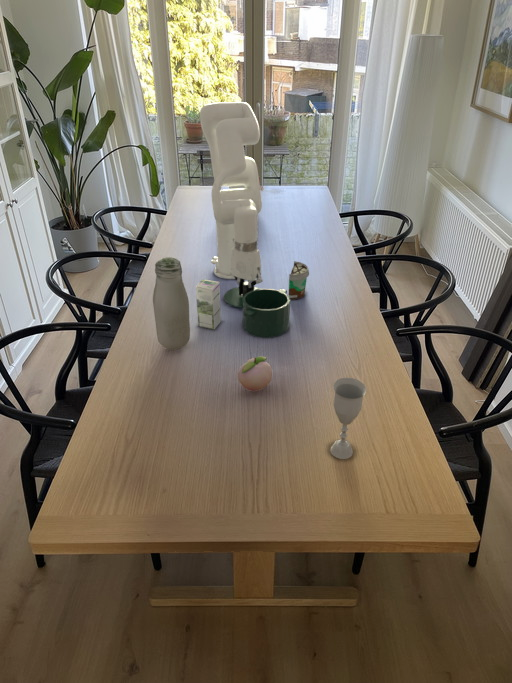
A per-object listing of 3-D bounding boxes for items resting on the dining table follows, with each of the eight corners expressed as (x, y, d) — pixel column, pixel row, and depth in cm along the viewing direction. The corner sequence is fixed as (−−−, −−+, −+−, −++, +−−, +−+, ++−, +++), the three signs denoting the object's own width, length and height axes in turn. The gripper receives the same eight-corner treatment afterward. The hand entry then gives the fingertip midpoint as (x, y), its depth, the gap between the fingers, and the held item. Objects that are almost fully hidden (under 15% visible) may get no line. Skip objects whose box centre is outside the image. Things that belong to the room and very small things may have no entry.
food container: (305, 303, 178) (307, 276, 172) (287, 301, 179) (289, 274, 173) (309, 287, 188) (311, 262, 183) (292, 286, 189) (294, 260, 184)
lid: (214, 301, 178) (213, 285, 175) (241, 285, 189) (241, 269, 186) (251, 314, 171) (251, 297, 167) (277, 297, 181) (278, 281, 178)
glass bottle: (164, 358, 148) (155, 269, 133) (153, 342, 156) (143, 255, 141) (196, 350, 152) (191, 262, 137) (184, 334, 160) (177, 249, 145)
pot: (228, 331, 161) (227, 304, 156) (265, 307, 175) (265, 281, 170) (266, 346, 154) (267, 319, 149) (301, 319, 168) (303, 293, 163)
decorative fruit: (259, 404, 131) (260, 372, 126) (233, 393, 135) (232, 362, 129) (278, 385, 138) (279, 354, 132) (252, 375, 141) (252, 345, 136)
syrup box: (221, 321, 167) (220, 280, 159) (214, 330, 162) (212, 288, 154) (205, 318, 168) (203, 278, 160) (197, 327, 164) (195, 285, 156)
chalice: (323, 440, 120) (330, 378, 110) (352, 439, 121) (361, 376, 111) (330, 463, 114) (337, 399, 104) (360, 461, 114) (370, 398, 105)
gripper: (219, 243, 171) (221, 293, 180) (259, 254, 163) (259, 305, 172) (233, 236, 176) (234, 285, 186) (272, 246, 168) (271, 297, 178)
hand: (246, 294), depth 179 cm, fingers closed on lid, 2 cm apart
